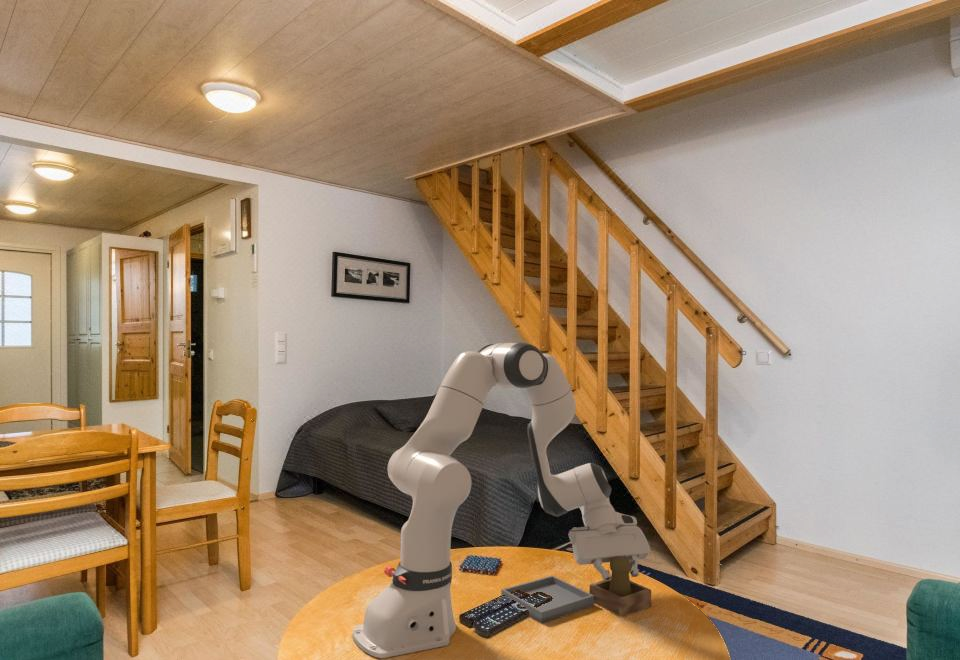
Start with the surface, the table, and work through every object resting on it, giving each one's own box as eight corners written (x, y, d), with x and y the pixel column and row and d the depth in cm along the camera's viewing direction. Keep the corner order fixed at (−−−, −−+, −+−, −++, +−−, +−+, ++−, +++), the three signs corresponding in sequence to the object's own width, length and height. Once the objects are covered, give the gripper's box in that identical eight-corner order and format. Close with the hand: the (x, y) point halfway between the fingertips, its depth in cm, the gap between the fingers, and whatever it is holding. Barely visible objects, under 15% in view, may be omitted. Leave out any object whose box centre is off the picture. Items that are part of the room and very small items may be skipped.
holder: (622, 617, 137) (622, 599, 137) (589, 600, 146) (589, 584, 146) (651, 606, 143) (651, 589, 143) (618, 591, 152) (618, 575, 152)
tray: (541, 623, 133) (541, 612, 133) (501, 599, 145) (501, 589, 145) (593, 605, 143) (594, 595, 143) (552, 585, 155) (552, 575, 155)
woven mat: (495, 577, 160) (495, 570, 160) (458, 573, 163) (458, 566, 163) (503, 564, 170) (503, 557, 171) (467, 560, 173) (468, 553, 173)
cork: (635, 609, 141) (635, 563, 142) (610, 608, 141) (610, 562, 142) (629, 598, 147) (629, 554, 148) (605, 598, 147) (605, 553, 148)
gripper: (570, 522, 148) (588, 575, 139) (640, 516, 155) (662, 567, 145) (562, 534, 153) (579, 587, 143) (631, 529, 159) (651, 579, 149)
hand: (621, 577), depth 144 cm, fingers open, 6 cm apart
